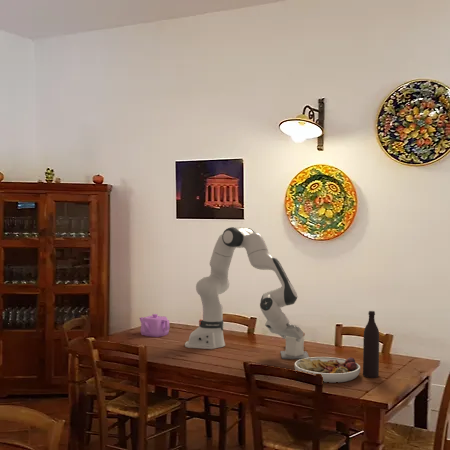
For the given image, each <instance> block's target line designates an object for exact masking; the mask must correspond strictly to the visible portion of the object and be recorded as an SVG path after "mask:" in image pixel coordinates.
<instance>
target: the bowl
mask: <svg viewBox="0 0 450 450" xmlns="http://www.w3.org/2000/svg"><path fill="white" fill-rule="evenodd" d="M294 369H295V371H296V370H298V371H303V372H308V373H313V374H321V375H322V377H323V381H324V382H323V383H327V382H329V384H330V383H333V384H334V383H336V382H338V383H344V382H350V381H352V380H354V379H356V378H357V377H358V376H359V374H360V372H361V365H360V364H359V363H357V362H356V360H355V358H354V357H347V359H345V358H339V357H330V356H314V357H310V356H309V358H303V359H297V360H296V361H295V362H294Z"/></svg>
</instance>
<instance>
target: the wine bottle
mask: <svg viewBox="0 0 450 450" xmlns="http://www.w3.org/2000/svg"><path fill="white" fill-rule="evenodd" d="M367 315H368V320H367V323H366V325H365V327H364V329H363V345H362V346H363V347H362V349H363V350H362V351H363V352H362V355H363V357H362V366H363V367H362V375H363V377H366V378H368V377H369V379H370V378H371V379H374V378H375V379H376V378H378V377H379V373H380V372H379V371H380V370H379V369H380V331H379V328H378V325H377V324H376V321H375V319H376V318H375V315H376V312H375V310H369V311H368V314H367Z"/></svg>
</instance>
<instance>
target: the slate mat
mask: <svg viewBox="0 0 450 450" xmlns="http://www.w3.org/2000/svg"><path fill="white" fill-rule="evenodd" d="M280 356H281V359H282V360H300V359H303V358H310V356H309V353H308V352H307V351H306V350H305V351H303V355H299V356H291V355H287V354H286V350H280Z"/></svg>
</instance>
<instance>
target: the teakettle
mask: <svg viewBox="0 0 450 450" xmlns="http://www.w3.org/2000/svg"><path fill="white" fill-rule="evenodd" d="M139 321H140V334H141V336H145V337H151V338H152V337H153V338H160V337H164V336H167V335H169V331H170V320H169V319H168V317H167V316H161V315H158V313H152V315H148V316H145V317H144V316H143V317H142V316H141V317H139Z"/></svg>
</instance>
